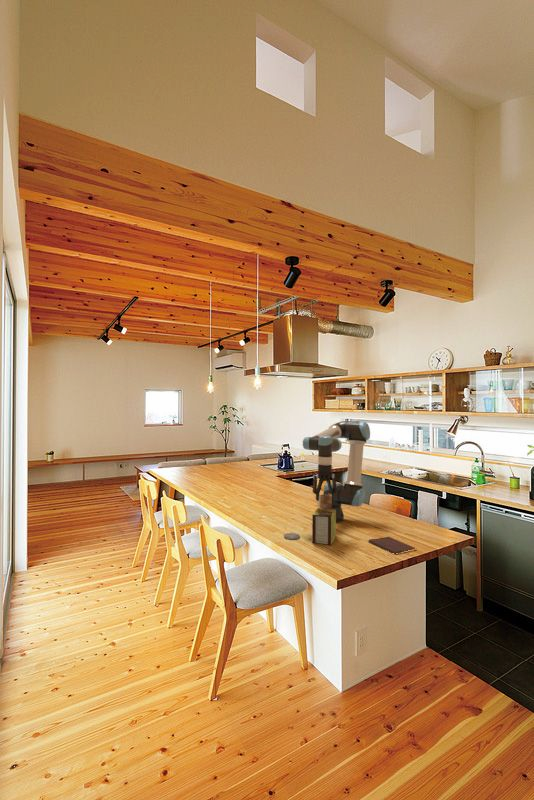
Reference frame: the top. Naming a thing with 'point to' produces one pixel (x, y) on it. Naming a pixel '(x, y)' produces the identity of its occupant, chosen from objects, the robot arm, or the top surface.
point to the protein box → (324, 526)
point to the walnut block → (325, 501)
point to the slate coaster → (291, 536)
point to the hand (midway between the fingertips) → (324, 505)
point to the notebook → (391, 545)
